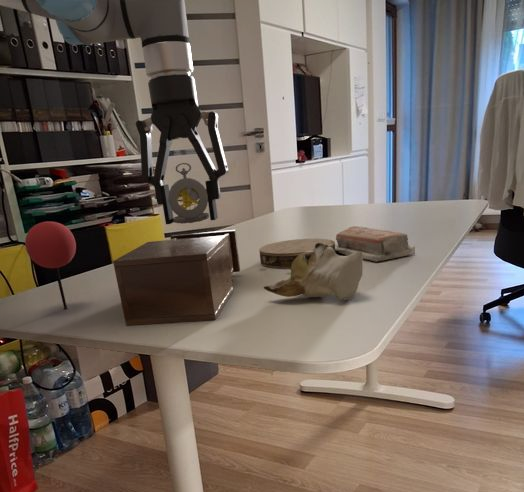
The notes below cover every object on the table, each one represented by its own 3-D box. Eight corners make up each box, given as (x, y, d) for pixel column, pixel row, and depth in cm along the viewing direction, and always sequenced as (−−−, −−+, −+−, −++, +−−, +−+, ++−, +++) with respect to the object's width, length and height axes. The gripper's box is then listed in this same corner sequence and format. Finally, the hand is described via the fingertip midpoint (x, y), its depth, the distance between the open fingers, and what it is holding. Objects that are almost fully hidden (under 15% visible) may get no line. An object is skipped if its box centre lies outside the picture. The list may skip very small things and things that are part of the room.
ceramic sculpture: (344, 247, 71) (255, 252, 80) (350, 308, 74) (263, 306, 82) (375, 234, 79) (291, 239, 88) (379, 289, 82) (297, 289, 90)
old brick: (417, 230, 102) (375, 238, 98) (417, 254, 104) (376, 263, 100) (363, 223, 117) (325, 229, 114) (363, 244, 119) (326, 252, 115)
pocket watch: (195, 217, 98) (186, 161, 94) (223, 218, 92) (215, 158, 88) (158, 226, 93) (147, 166, 89) (185, 227, 87) (175, 164, 83)
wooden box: (157, 296, 93) (147, 241, 89) (233, 291, 91) (226, 235, 87) (125, 325, 78) (112, 261, 75) (215, 320, 76) (206, 253, 73)
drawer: (185, 268, 109) (179, 230, 106) (244, 264, 107) (240, 225, 105) (156, 294, 90) (148, 249, 88) (227, 289, 89) (221, 243, 86)
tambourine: (339, 263, 103) (339, 248, 102) (259, 271, 104) (258, 256, 103) (331, 249, 118) (330, 236, 117) (261, 256, 119) (260, 243, 117)
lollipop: (69, 315, 87) (47, 224, 81) (33, 315, 90) (10, 226, 84) (97, 302, 93) (79, 217, 88) (63, 302, 96) (43, 219, 91)
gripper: (236, 71, 86) (251, 213, 94) (119, 87, 89) (144, 223, 97) (228, 65, 79) (245, 218, 87) (102, 82, 82) (130, 229, 90)
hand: (192, 221), depth 92 cm, fingers closed on pocket watch, 7 cm apart
